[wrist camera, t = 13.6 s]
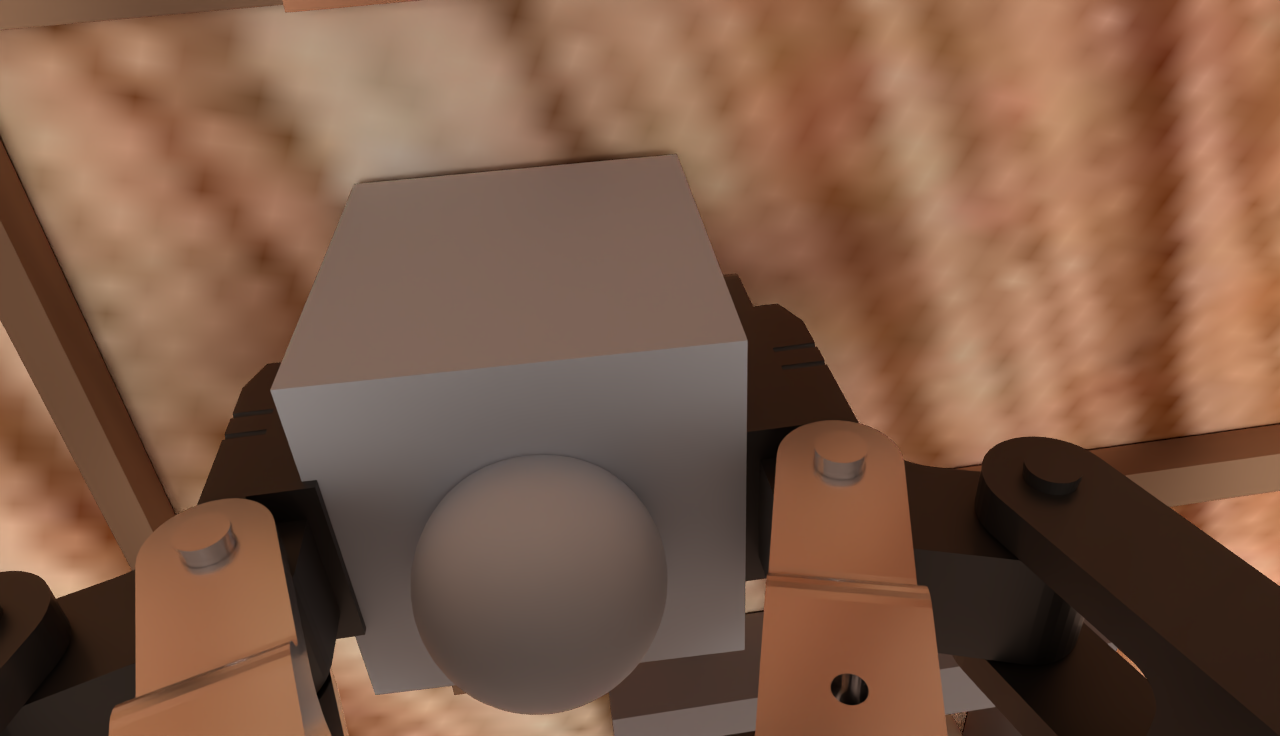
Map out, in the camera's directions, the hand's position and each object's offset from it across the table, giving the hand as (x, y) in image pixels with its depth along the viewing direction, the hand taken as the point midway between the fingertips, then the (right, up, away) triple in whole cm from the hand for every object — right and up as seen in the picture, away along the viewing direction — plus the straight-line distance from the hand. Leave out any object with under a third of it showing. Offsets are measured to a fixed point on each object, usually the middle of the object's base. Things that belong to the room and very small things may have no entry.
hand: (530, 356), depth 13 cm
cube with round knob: (0, +1, +1) cm, 1 cm away
